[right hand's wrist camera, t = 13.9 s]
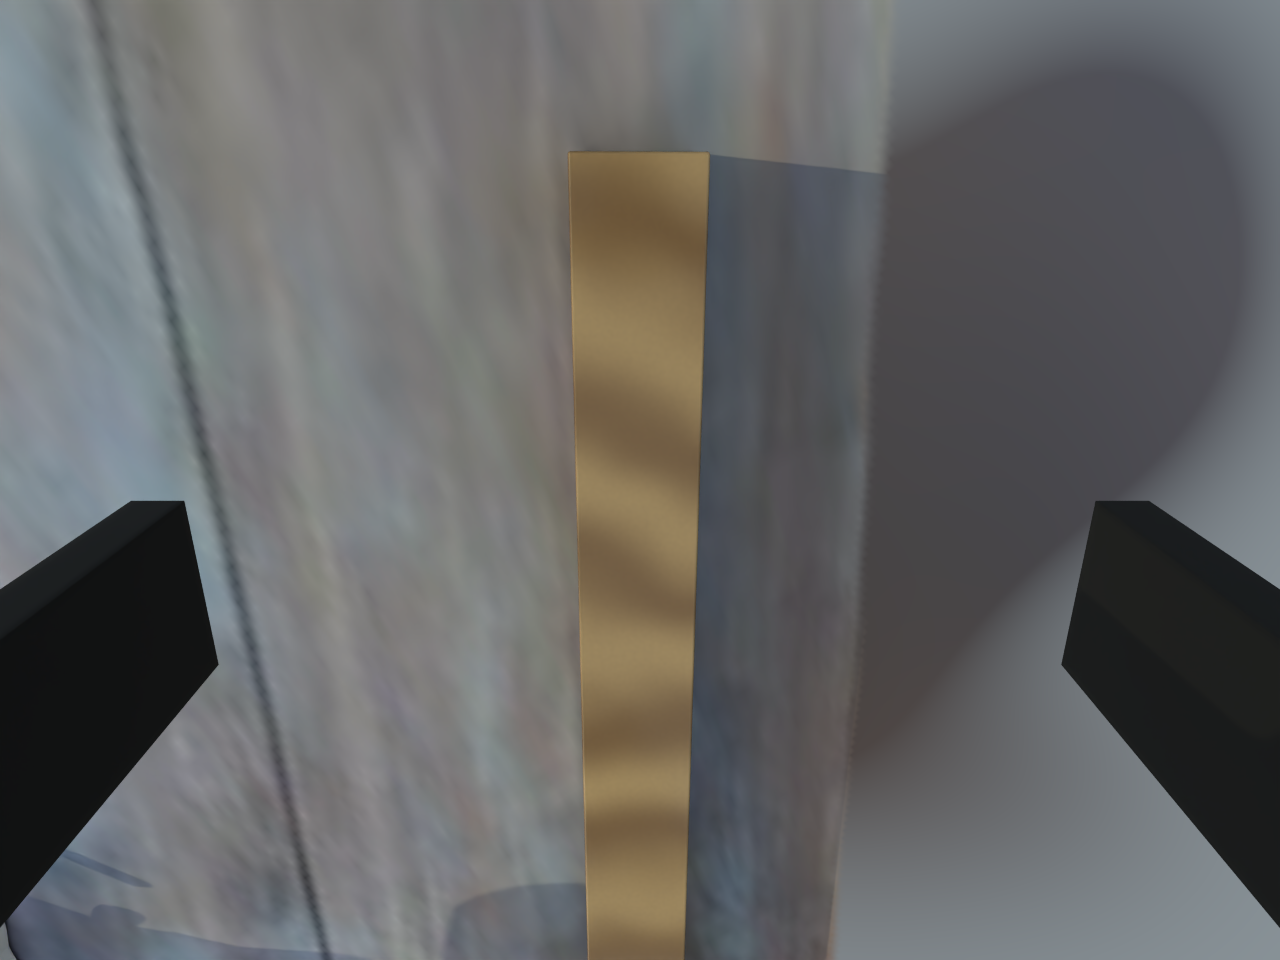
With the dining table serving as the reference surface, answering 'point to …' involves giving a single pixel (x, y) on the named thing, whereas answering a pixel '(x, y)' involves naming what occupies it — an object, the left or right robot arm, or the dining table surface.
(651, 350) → the bar
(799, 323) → the dining table surface
